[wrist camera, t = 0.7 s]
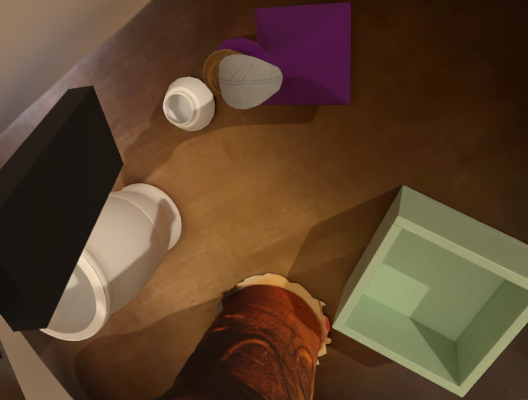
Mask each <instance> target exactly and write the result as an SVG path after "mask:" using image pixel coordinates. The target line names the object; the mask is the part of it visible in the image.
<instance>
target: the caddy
mask: <svg viewBox="0 0 528 400" xmlns="http://www.w3.org/2000/svg"><path fill="white" fill-rule="evenodd" d="M527 322H528V245H527V244H525V243H523V242H521V241H519V240H517V239H515V238H513V237H510V236H508V235H506V234H504V233H502V232H500V231H498V230H496V229H494V228H492V227H490V226H488V225H485V224H483V223H481V222H479V221H477V220H475V219H473V218H471V217H469V216H467V215H465V214H463V213H460V212H458V211H456V210H454V209H452V208H450V207H448V206H446V205H444V204H442V203H440V202H438V201H435V200H433V199H431V198H429V197H427V196H425V195H423V194H421V193H419V192H417V191H415V190H413V189H410V188H408V187H406V186H404V185H402V187H401V189H400V191H399V192H398V194H397V196H396V198H395V199H394V201H393V203H392V204H391V206H390V208H389V210H388V211H387V213H386V215H385V217H384V218H383V220H382V222H381V224H380V225H379V227H378V229H377V230H376V232H375V234H374V236H373V237H372V239H371V241H370V243H369V244H368V246H367V248H366V249H365V251H364V253H363V255H362V256H361V258H360V260H359V262H358V263H357V265H356V267H355V269H354V270H353V272H352V274H351V275H350V277H349V279H348V281H347V282H346V284H345V286H344V289H343V293H342V296H341V299H340V302H339V305H338V308H337V312H336V315H335V318H334V321H333V324H332V328H334V329H336V330H338V331H339V332H341V333H343V334H345V335H347V336H349V337H351V338H352V339H354V340H356V341H358V342H360V343H362V344H364V345H365V346H367V347H369V348H371V349H373V350H375V351H377V352H379V353H380V354H382V355H384V356H386V357H388V358H390V359H392V360H393V361H395V362H397V363H399V364H401V365H403V366H405V367H406V368H408V369H410V370H412V371H414V372H416V373H418V374H419V375H421V376H423V377H425V378H427V379H429V380H431V381H433V382H434V383H436V384H438V385H440V386H442V387H444V388H446V389H447V390H449V391H451V392H453V393H455V394H457V395H459V396H460V397H463V396H464V395H465V394H466V393H467V391H469V389H470V388H471V387H472V386H473V385H474V384H475V382H476V381H477V380H478V379H479V378H480V377H481V375H482V374H483V373H484V372H485V371H486V370H487V369H488V367H489V366H490V365H491V364H492V363H493V362H494V360H495V359H496V358H497V357H498V356H499V355H500V353H501V352H502V351H503V350H504V349H505V348H506V347H507V345H508V344H509V343H510V342H511V341H512V340H513V338H514V337H515V336H516V335H517V334H518V333H519V331H520V330H521V329H522V328H523V327H524V326H525V325H526V323H527Z"/></svg>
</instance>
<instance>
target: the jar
mask: <svg viewBox="0 0 528 400" xmlns="http://www.w3.org/2000/svg"><path fill="white" fill-rule="evenodd" d="M181 228H182V224H181V217H180V214H179V211H178V209H177V207H176V205H175V204H174V202H173V201H172V200H171V198H170V197H169V196H168V195H167V194H165V193H164V192H163V191H162V190H160V189H158V188H156V187H154V186H152V185H149V184H143V183H136V184H131V185H128V186H126V187H124V188H123V189H122V190H121V191H116V192H110V194H109V196H108V198H107V201H106V203H105V205H104V207H103V209H102V211H101V213H100V216H99V218H98V220H97V222H96V224H95V226H94V228H93V231H92V233H91V235H90V237H89V239H88V241H87V243H86V245H85V248H84V250H83V252H82V254H81V256H80V258H79V260H78V263H77V265H76V267H75V269H74V271H73V273H72V275H71V278H70V280H69V282H68V284H67V286H66V288H65V290H64V293H63V295H62V297H61V299H60V301H59V303H58V305H57V308H56V310H55V312H54V314H53V316H52V318H51V320H50V323H49V325H48V327H47V329H40V330H41V331H43V332H45V333H46V334H48V335H51V336H53V337H56V338H59V339H63V340H68V341H79V340H84V339H87V338H89V337H91V336H93V335H94V334H95V333H97V332H98V331H99V330H100V329H101V328H102V327H103V326H104V325H105V323H106V322H107V320H108V318H109V316H110V315H111V314H113V313H114V312H116V311H117V310H119V309H120V308H122V307H123V306H124V305H126V304H127V303H128V302H129V301H131V300H132V299H133V298H134V297H135V296H136V295H137V294H138V293H139V292H140V291H141V290H142V289H143V288H144V287H145V285H146V284H147V283H148V281H149V280H150V279H151V277H152V276H153V274H154V273H155V271H156V269H157V268H158V267H159V265H160V264H161V262H162V261H163V259H164V257H165V255H166V253H167V251H168V250H170V249H171V248H172V247H173V246H174V245H175V244H176V243H177V241H178V240H179V237H180V234H181Z"/></svg>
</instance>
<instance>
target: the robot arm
mask: <svg viewBox="0 0 528 400" xmlns="http://www.w3.org/2000/svg"><path fill="white" fill-rule="evenodd" d="M122 166H123V161H122V159H121V156H120V153H119V151H118V148H117V146H116V143H115V141H114V138H113V136H112V133H111V130H110V128H109V125H108V123H107V120H106V118H105V115H104V113H103V110H102V108H101V105H100V102H99V100H98V97H97V95H96V92H95V90H94V87H93V86H87V87H80V88H73V89H68V90H67V91H66V93H65V94H64V95H63V96H62V97H61V99H60V100H59V101H58V102H57V103H56V104H55V106H54V107H53V108H52V109H51V110H50V112H49V113H48V114H47V115H46V116H45V117H44V119H43V120H42V121H41V122H40V123H39V125H38V126H37V127H36V128H35V129H34V130H33V132H32V133H31V134H30V135H29V136H28V138H27V139H26V140H25V141H24V142H23V143H22V145H21V146H20V147H19V148H18V149H17V151H16V152H15V153H14V154H13V155H12V156H11V158H10V159H9V160H8V161H7V162H6V164H5V165H4V166H3V167H2V168H1V169H0V314H1V315H2V317H3V318H4V319H5V320H6V322H7V323H8V325H9V326H10V327H11V329H12V330H13V331H14V332H15V331H25V330H36V329H47V327H48V325H49V323H50V320H51V318H52V316H53V314H54V312H55V310H56V308H57V305H58V303H59V301H60V299H61V297H62V295H63V293H64V290H65V288H66V286H67V284H68V282H69V280H70V278H71V275H72V273H73V271H74V269H75V267H76V265H77V263H78V260H79V258H80V256H81V254H82V252H83V250H84V248H85V245H86V243H87V241H88V239H89V237H90V235H91V233H92V231H93V228H94V226H95V224H96V222H97V220H98V218H99V216H100V213H101V211H102V209H103V207H104V205H105V203H106V201H107V198H108V196H109V194H110V192H111V190H112V188H113V186H114V183H115V181H116V179H117V177H118V175H119V173H120V171H121V168H122ZM0 400H26V399H25V397H24V394H23V392H22V390H21V387H20V385H19V383H18V380H17V378H16V376H15V373H14V371H13V369H12V366H11V364H10V362H9V360H8V357H7V355H6V353H5V350H4V348H3V345H2V343H1V341H0Z"/></svg>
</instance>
